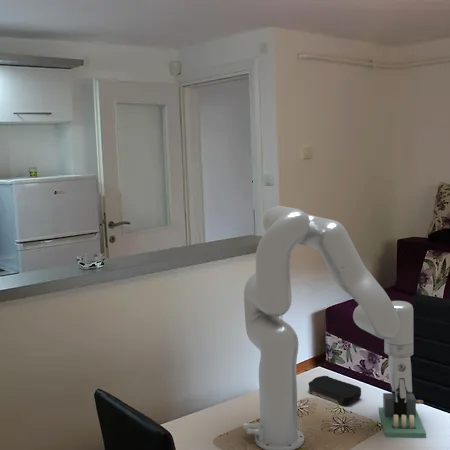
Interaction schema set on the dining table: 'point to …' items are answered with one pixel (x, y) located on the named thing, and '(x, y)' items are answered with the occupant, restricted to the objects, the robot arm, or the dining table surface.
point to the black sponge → (334, 390)
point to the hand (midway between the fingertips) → (399, 411)
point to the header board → (402, 425)
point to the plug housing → (389, 404)
